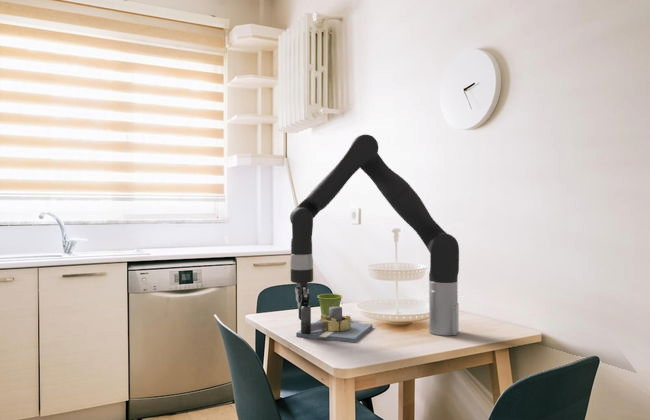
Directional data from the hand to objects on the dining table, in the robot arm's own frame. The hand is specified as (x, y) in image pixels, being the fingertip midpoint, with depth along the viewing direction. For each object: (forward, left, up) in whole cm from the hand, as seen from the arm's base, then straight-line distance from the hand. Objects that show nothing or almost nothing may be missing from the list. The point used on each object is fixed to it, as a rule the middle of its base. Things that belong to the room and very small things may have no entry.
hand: (302, 319), depth 162 cm
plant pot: (-1, -24, -5) cm, 24 cm away
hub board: (-10, -6, -5) cm, 12 cm away
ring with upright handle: (-7, -2, -3) cm, 8 cm away
